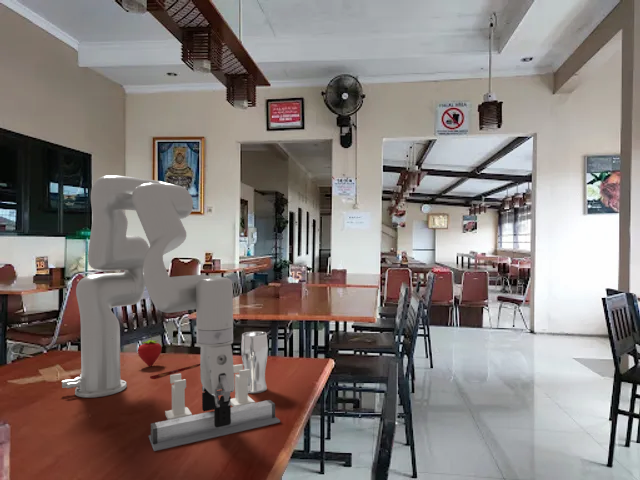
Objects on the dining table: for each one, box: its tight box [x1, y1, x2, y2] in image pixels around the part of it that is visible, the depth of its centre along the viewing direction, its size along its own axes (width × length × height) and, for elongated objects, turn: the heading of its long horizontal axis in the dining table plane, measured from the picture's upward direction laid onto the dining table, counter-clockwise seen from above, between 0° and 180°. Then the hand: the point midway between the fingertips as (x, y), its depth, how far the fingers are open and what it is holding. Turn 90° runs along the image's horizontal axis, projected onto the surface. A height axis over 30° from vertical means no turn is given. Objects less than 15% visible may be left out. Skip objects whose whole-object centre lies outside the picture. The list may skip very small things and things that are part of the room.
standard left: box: [164, 372, 193, 420], centre depth 101 cm, size 5×6×9 cm
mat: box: [148, 416, 281, 452], centre depth 93 cm, size 26×7×1 cm, turn 119°
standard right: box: [230, 363, 256, 407], centre depth 108 cm, size 5×6×9 cm
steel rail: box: [150, 399, 276, 444], centre depth 93 cm, size 26×3×3 cm, turn 119°
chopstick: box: [150, 363, 200, 380], centre depth 140 cm, size 2×24×1 cm, turn 144°
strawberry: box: [137, 335, 163, 367], centre depth 144 cm, size 6×8×10 cm
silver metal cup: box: [240, 330, 269, 394], centre depth 118 cm, size 7×7×15 cm
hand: (216, 417), depth 93 cm, fingers open, 9 cm apart
